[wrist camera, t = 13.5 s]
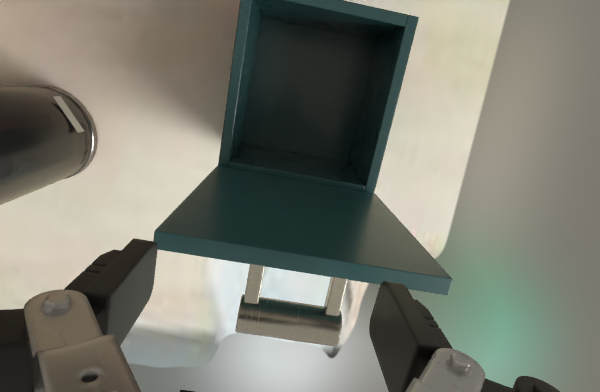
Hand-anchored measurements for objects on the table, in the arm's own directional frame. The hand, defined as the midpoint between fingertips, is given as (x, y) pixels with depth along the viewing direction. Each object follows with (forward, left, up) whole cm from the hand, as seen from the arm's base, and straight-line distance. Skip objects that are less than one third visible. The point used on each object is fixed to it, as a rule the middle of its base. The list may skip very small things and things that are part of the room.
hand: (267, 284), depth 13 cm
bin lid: (+2, 0, -10) cm, 10 cm away
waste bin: (+2, +6, -28) cm, 29 cm away
